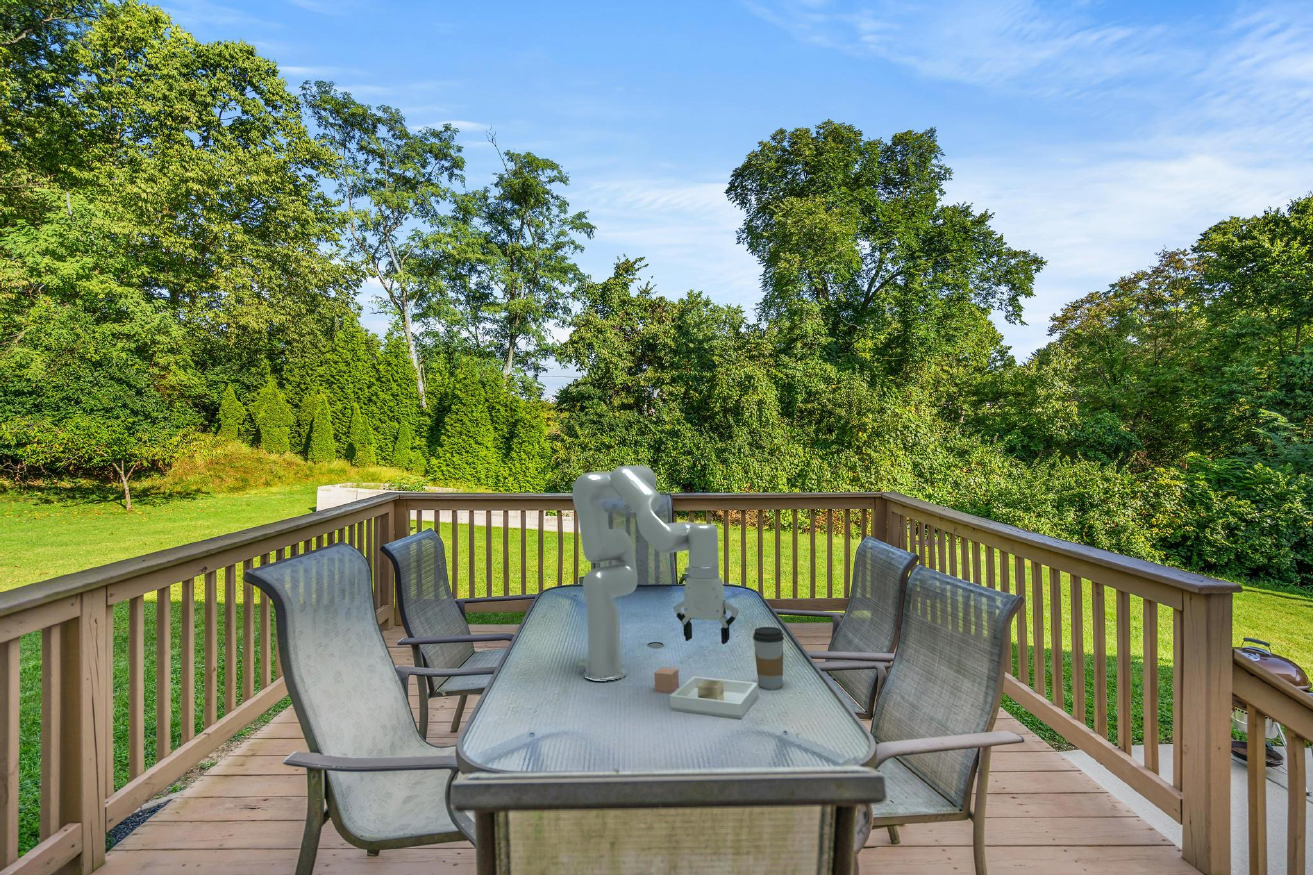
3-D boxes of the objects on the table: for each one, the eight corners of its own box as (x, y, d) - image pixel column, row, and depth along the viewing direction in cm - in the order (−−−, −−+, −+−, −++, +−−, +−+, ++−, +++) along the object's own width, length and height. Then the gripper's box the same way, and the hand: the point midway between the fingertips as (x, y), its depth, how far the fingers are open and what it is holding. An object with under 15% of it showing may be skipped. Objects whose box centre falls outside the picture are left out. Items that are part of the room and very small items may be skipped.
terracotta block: (655, 691, 169) (654, 672, 170) (662, 685, 174) (661, 667, 174) (672, 693, 167) (671, 674, 168) (678, 687, 172) (678, 668, 172)
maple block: (698, 706, 155) (697, 685, 155) (705, 699, 159) (704, 679, 160) (717, 708, 153) (716, 687, 153) (723, 701, 157) (723, 681, 157)
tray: (670, 710, 155) (670, 695, 155) (693, 689, 170) (693, 676, 170) (740, 719, 148) (740, 704, 148) (758, 696, 162) (757, 682, 162)
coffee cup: (786, 691, 165) (783, 634, 166) (754, 690, 167) (751, 633, 168) (786, 681, 173) (783, 626, 174) (755, 680, 175) (753, 626, 176)
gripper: (667, 573, 159) (669, 642, 158) (732, 576, 152) (735, 648, 151) (678, 569, 166) (680, 634, 165) (741, 571, 159) (743, 640, 158)
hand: (706, 641), depth 158 cm, fingers open, 9 cm apart
